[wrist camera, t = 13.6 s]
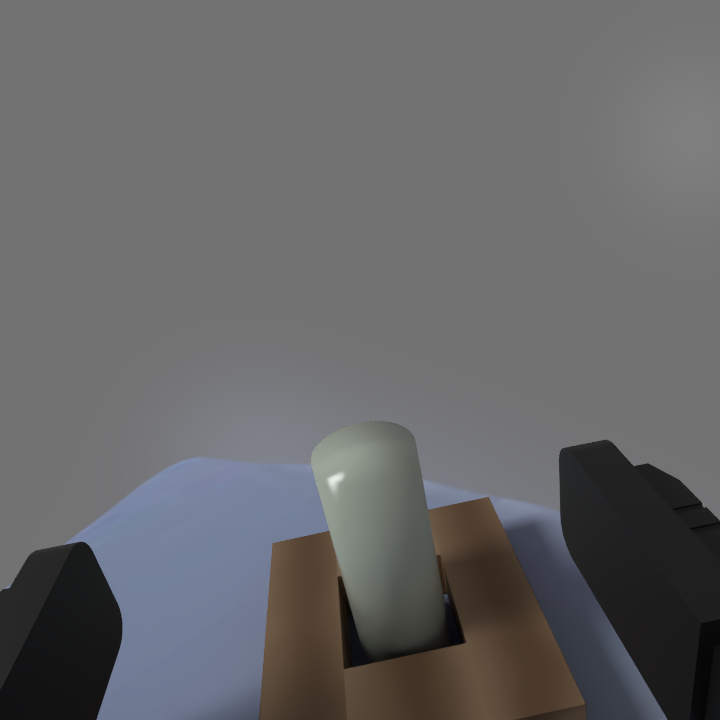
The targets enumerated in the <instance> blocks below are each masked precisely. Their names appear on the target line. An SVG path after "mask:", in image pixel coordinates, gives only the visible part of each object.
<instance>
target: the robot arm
mask: <svg viewBox="0 0 720 720" xmlns="http://www.w3.org/2000/svg"><path fill="white" fill-rule="evenodd" d="M559 472H560V473H559V475H560V515H561V526H562V531H563V535H564V539H565V542H566V545H567V548H568V550H569V552H570V555H571V557H572V558H573V560H574V562H575V564H576V565H577V567H578V569H579V570H580V572H581V574H582V575H583V577H584V579H585V580H586V582H587V584H588V586H589V587H590V589H591V591H592V592H593V594H594V596H595V597H596V599H597V601H598V602H599V604H600V606H601V608H602V609H603V611H604V613H605V614H606V616H607V618H608V619H609V621H610V623H611V624H612V626H613V628H614V630H615V631H616V633H617V635H618V636H619V638H620V640H621V641H622V643H623V645H624V646H625V648H626V650H627V652H628V653H629V655H630V657H631V658H632V660H633V662H634V663H635V665H636V667H637V668H638V670H639V672H640V674H641V675H642V677H643V679H644V680H645V682H646V684H647V685H648V687H649V689H650V690H651V692H652V694H653V696H654V697H655V699H656V701H657V702H658V704H659V706H660V707H661V709H662V711H663V712H664V714H665V716H666V718H667V719H668V720H720V521H719V519H718V518H717V517H716V516H714V514H712V512H711V511H710V510H709V509H707V507H705V508H704V507H703V506H702V502H701V501H700V500H699V499H698V498H697V497H696V496H695V495H694V494H693V493H692V492H691V491H690V490H689V489H688V488H687V487H686V486H685V485H683V483H682V482H681V481H680V480H678V479H676V478H674V477H673V476H671V475H669V474H667V473H665V472H663V471H661V470H660V469H657V468H656V467H654V466H652V465H650V464H643V465H638V466H633V465H632V464H631V463H630V462H629V461H628V460H627V458H626V457H625V456H624V455H623V454H622V453H621V452H620V451H619V450H618V448H617V447H616V446H615V445H614V444H613V443H612V442H610V441H609V440H602V441H598V442H592V443H587V444H582V445H577V446H572V447H567V448H563V449H561V451H560V455H559ZM121 640H122V617H121V612H120V608H119V606H118V603H117V601H116V599H115V597H114V595H113V593H112V591H111V589H110V587H109V585H108V582H107V580H106V578H105V576H104V574H103V572H102V570H101V568H100V566H99V564H98V562H97V559H96V557H95V555H94V553H93V551H92V549H91V548H90V547H89V545H88V544H86V543H84V542H77V543H72V544H67V545H62V546H57V547H52V548H47V549H42V550H37V551H34V552H33V553H32V554H30V556H29V557H28V558H27V560H26V561H25V563H24V565H23V566H22V568H21V570H20V572H19V573H18V575H17V577H16V578H15V580H14V582H13V583H12V585H11V587H10V588H8V589H3V590H2V591H1V592H0V720H96V719H97V716H98V713H99V710H100V707H101V704H102V701H103V698H104V695H105V692H106V688H107V685H108V682H109V679H110V676H111V673H112V670H113V667H114V664H115V661H116V658H117V655H118V652H119V649H120V645H121Z"/></svg>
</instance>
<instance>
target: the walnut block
mask: <svg viewBox="0 0 720 720" xmlns="http://www.w3.org/2000/svg"><path fill="white" fill-rule="evenodd" d="M428 513H429V519H430V524H431V530H432V535H433V541H434V546H435V552H436V557H437V563H438V568H439V574H440V579H441V585H442V590H443V594H445V593H447V594H448V598H449V601H450V605H451V608H452V611H453V615H454V618H455V622H456V625H457V629H458V632H459V636H460V639H461V642H462V644H460V645H455V646H451V647H446V648H441V649H437V650H432V651H427V652H423V653H418V654H413V655H409V656H404V657H399V658H395V659H390V660H385V661H381V662H376V663H371V664H367V665H362V666H357V667H353V668H352V657H351V645H350V633H349V621H348V614H351V613H352V611H351V607H350V604H349V600H348V597H347V593H346V589H345V586H344V582H343V578H342V575H341V571H340V568H339V564H338V560H337V557H336V553H335V549H334V546H333V542H332V539H331V535H330V531H327V532H323V533H318V534H313V535H309V536H304V537H299V538H295V539H290V540H285V541H281V542H276V543H273V545H272V558H271V571H270V584H269V597H268V610H267V623H266V636H265V649H264V663H263V676H262V689H261V702H260V715H259V720H587V718H586V704H585V701H584V699H583V697H582V695H581V693H580V691H579V689H578V686H577V684H576V682H575V680H574V678H573V676H572V674H571V672H570V669H569V667H568V665H567V663H566V661H565V659H564V657H563V654H562V652H561V650H560V648H559V646H558V644H557V642H556V640H555V637H554V635H553V633H552V631H551V629H550V627H549V625H548V622H547V620H546V618H545V616H544V614H543V612H542V610H541V608H540V605H539V603H538V601H537V599H536V597H535V595H534V593H533V590H532V588H531V586H530V584H529V582H528V580H527V578H526V576H525V573H524V571H523V569H522V567H521V565H520V563H519V561H518V558H517V556H516V554H515V552H514V550H513V548H512V546H511V544H510V541H509V539H508V537H507V535H506V533H505V531H504V529H503V527H502V524H501V522H500V520H499V518H498V516H497V514H496V512H495V509H494V507H493V505H492V503H491V501H490V499H489V497H486V498H481V499H477V500H472V501H467V502H463V503H458V504H453V505H449V506H444V507H439V508H435V509H430V510H428Z"/></svg>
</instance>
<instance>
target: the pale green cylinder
mask: <svg viewBox="0 0 720 720" xmlns="http://www.w3.org/2000/svg"><path fill="white" fill-rule="evenodd" d="M311 466H312V470H313V473H314V477H315V481H316V484H317V488H318V491H319V495H320V499H321V502H322V506H323V510H324V513H325V517H326V520H327V524H328V528H329V531H330V535H331V539H332V542H333V546H334V549H335V553H336V557H337V560H338V564H339V568H340V571H341V575H342V578H343V582H344V586H345V589H346V593H347V597H348V600H349V604H350V607H351V611H352V615H353V618H354V622H355V626H356V629H357V633H358V636H359V640H360V644H361V647H362V651H363V655H364V658H365V662H366V665H367V664H371V663H376V662H381V661H385V660H390V659H395V658H399V657H404V656H409V655H413V654H418V653H423V652H427V651H432V650H437V649H441V648H446V647H451V646H452V640H451V635H450V629H449V624H448V618H447V613H446V607H445V601H444V596H443V590H442V585H441V579H440V574H439V568H438V563H437V557H436V552H435V546H434V541H433V535H432V530H431V524H430V519H429V513H428V508H427V502H426V497H425V491H424V486H423V480H422V475H421V469H420V464H419V458H418V453H417V447H416V442H415V438H414V436H413V434H412V433H411V432H410V431H409V430H408V429H406V428H405V427H403V426H401V425H398V424H395V423H391V422H384V421H370V422H363V423H357V424H353V425H350V426H347V427H345V428H342V429H339V430H337V431H335V432H333V433H332V434H330V435H329V436H327V437H326V438H324V439H323V440H322V441H321V442H320V443H319V444H318V445H317V446H316V448H315V449H314V451H313V453H312V456H311Z"/></svg>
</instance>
